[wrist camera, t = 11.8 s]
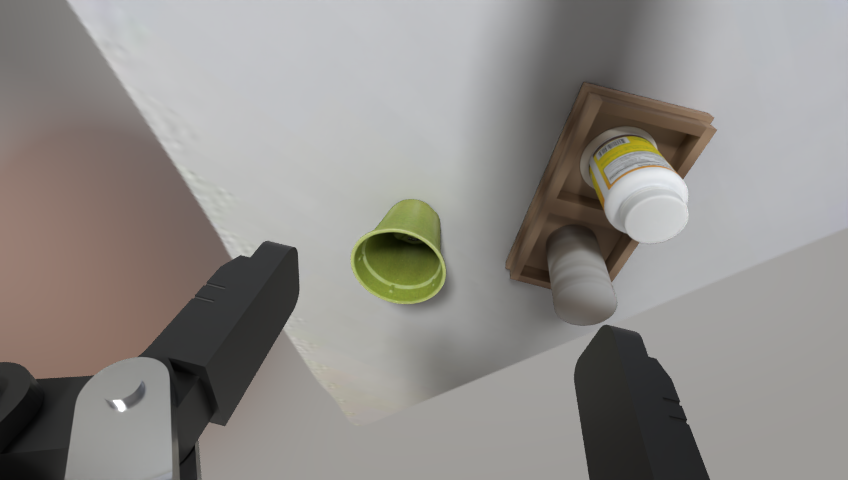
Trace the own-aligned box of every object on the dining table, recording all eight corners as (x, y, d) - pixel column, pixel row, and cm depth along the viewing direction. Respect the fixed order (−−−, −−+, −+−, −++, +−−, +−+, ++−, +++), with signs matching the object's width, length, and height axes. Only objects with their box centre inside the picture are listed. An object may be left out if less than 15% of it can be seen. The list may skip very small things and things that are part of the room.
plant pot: (370, 181, 42) (344, 225, 35) (456, 187, 41) (446, 234, 34) (378, 249, 47) (356, 299, 41) (453, 256, 46) (445, 308, 39)
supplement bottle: (633, 195, 36) (671, 262, 28) (576, 179, 36) (597, 242, 28) (668, 139, 33) (722, 197, 25) (604, 123, 33) (638, 175, 25)
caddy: (583, 81, 33) (610, 122, 25) (708, 113, 32) (775, 164, 24) (505, 262, 45) (505, 328, 37) (594, 285, 45) (614, 357, 37)
